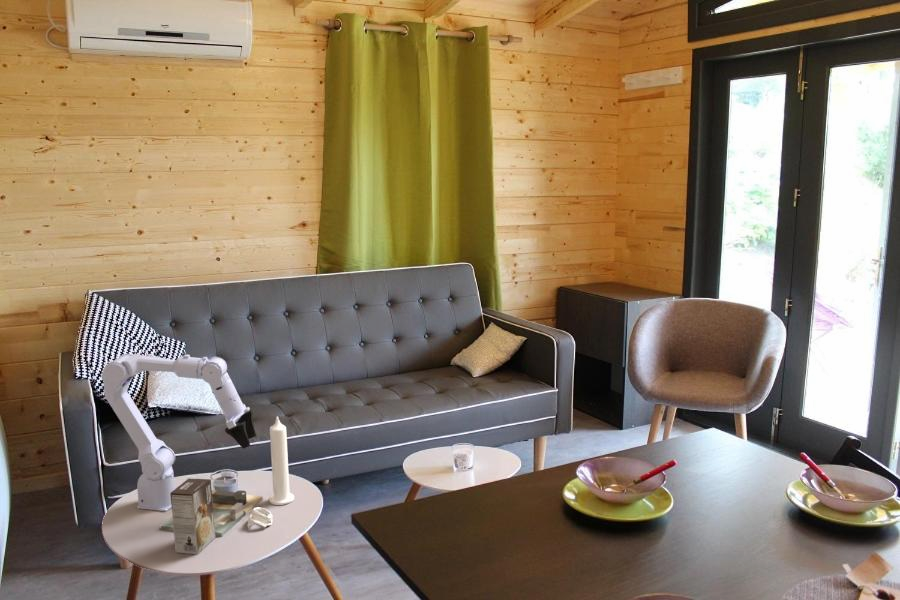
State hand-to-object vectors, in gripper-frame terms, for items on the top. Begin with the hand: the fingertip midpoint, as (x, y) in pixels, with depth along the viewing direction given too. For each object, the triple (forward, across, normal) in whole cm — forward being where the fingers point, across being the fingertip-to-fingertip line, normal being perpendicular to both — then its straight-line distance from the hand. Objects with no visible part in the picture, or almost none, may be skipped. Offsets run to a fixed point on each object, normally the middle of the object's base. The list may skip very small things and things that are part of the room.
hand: (249, 442), depth 213 cm
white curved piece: (+19, -13, +3) cm, 23 cm away
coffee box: (+14, -23, +16) cm, 31 cm away
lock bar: (+13, -2, +13) cm, 18 cm away
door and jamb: (+13, -6, +16) cm, 21 cm away
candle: (+20, +2, 0) cm, 20 cm away
